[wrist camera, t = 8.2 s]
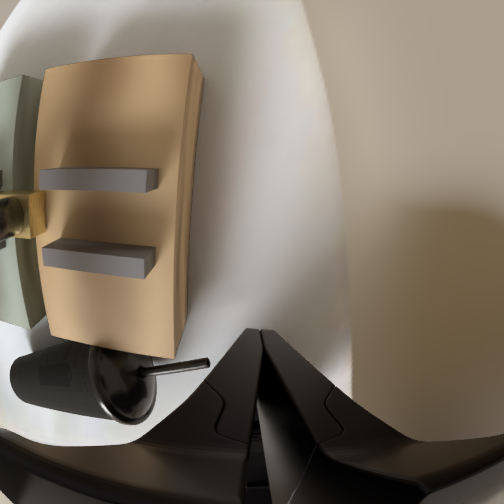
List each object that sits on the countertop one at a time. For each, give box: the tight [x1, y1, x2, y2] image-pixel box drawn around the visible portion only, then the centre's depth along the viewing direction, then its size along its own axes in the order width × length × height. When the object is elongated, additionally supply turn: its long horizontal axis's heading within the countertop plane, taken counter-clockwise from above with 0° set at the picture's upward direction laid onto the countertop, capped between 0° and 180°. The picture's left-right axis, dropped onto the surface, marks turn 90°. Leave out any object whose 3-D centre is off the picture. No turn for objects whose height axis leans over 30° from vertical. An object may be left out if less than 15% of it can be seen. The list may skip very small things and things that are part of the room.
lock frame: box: [0, 54, 204, 359], centre depth 16 cm, size 20×17×7 cm
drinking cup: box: [10, 341, 210, 425], centre depth 20 cm, size 8×8×20 cm
